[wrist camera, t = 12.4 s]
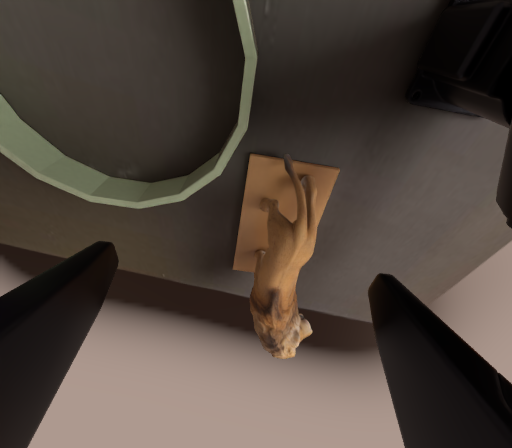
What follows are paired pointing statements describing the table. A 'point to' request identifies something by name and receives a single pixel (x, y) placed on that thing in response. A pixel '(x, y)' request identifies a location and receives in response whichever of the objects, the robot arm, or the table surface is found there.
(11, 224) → the table surface
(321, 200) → the cork mat
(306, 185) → the lion figurine
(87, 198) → the pale green faceted ring
